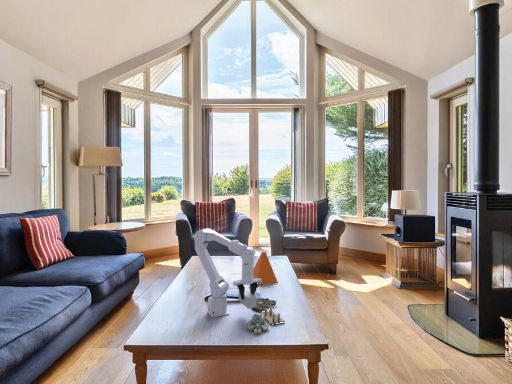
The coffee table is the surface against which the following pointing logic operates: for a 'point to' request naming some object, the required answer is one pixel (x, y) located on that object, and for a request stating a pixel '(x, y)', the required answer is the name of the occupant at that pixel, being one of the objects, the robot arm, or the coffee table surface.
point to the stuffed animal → (257, 323)
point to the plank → (248, 299)
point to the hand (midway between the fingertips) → (247, 298)
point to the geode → (264, 304)
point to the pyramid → (264, 270)
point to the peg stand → (272, 316)
